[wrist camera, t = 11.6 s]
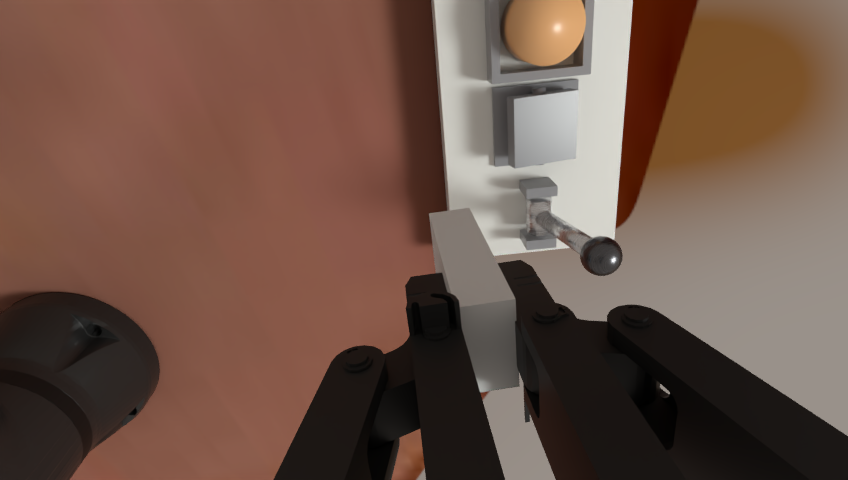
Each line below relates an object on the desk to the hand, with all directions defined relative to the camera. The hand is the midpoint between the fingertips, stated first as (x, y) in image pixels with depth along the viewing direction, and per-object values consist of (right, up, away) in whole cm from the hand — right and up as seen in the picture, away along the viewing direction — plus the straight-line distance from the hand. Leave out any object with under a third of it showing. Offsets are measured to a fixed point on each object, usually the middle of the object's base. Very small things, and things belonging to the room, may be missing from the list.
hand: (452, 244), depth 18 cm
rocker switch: (+7, +9, +18) cm, 21 cm away
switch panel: (+7, +10, +22) cm, 26 cm away
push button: (+7, +15, +16) cm, 23 cm away
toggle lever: (+8, +3, +22) cm, 23 cm away
